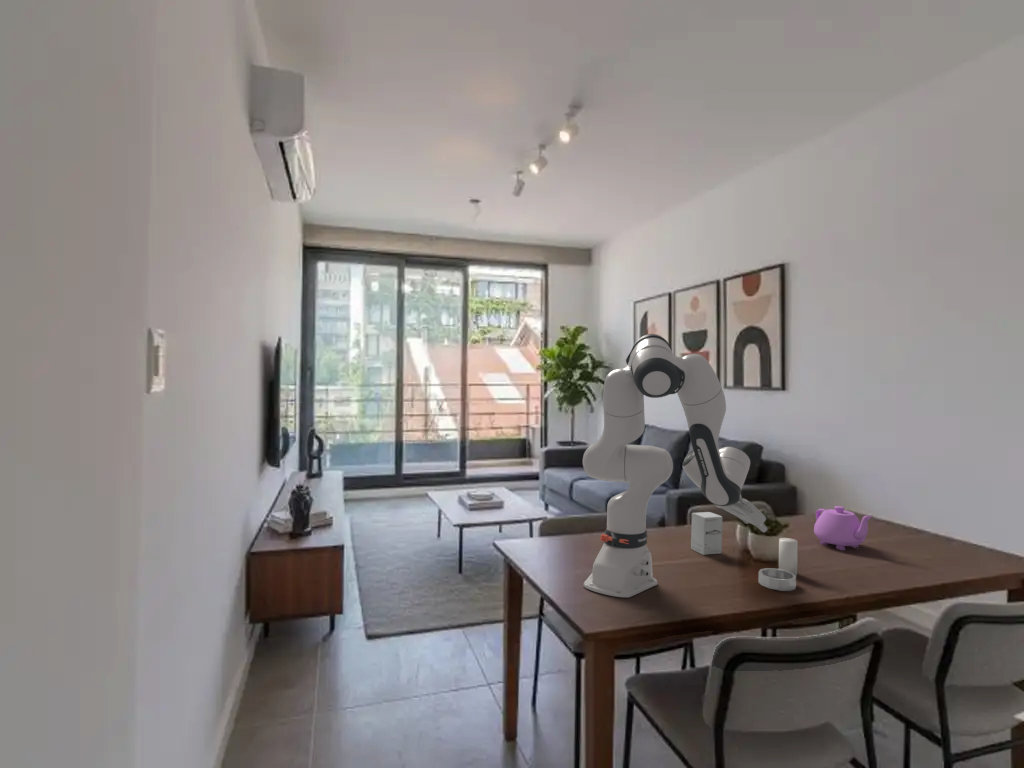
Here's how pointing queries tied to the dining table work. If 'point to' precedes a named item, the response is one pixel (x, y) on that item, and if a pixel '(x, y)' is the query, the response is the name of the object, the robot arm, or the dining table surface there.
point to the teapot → (840, 527)
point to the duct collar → (777, 579)
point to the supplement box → (706, 533)
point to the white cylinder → (788, 555)
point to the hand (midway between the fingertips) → (756, 525)
